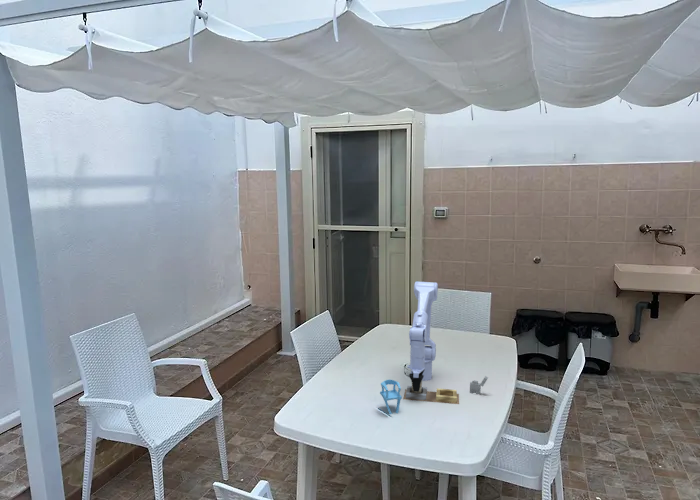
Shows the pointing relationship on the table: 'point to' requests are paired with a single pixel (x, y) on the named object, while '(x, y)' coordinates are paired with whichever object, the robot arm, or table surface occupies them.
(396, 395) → the chair
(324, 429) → the table surface
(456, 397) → the dock
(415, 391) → the beige cylinder
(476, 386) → the lighter
